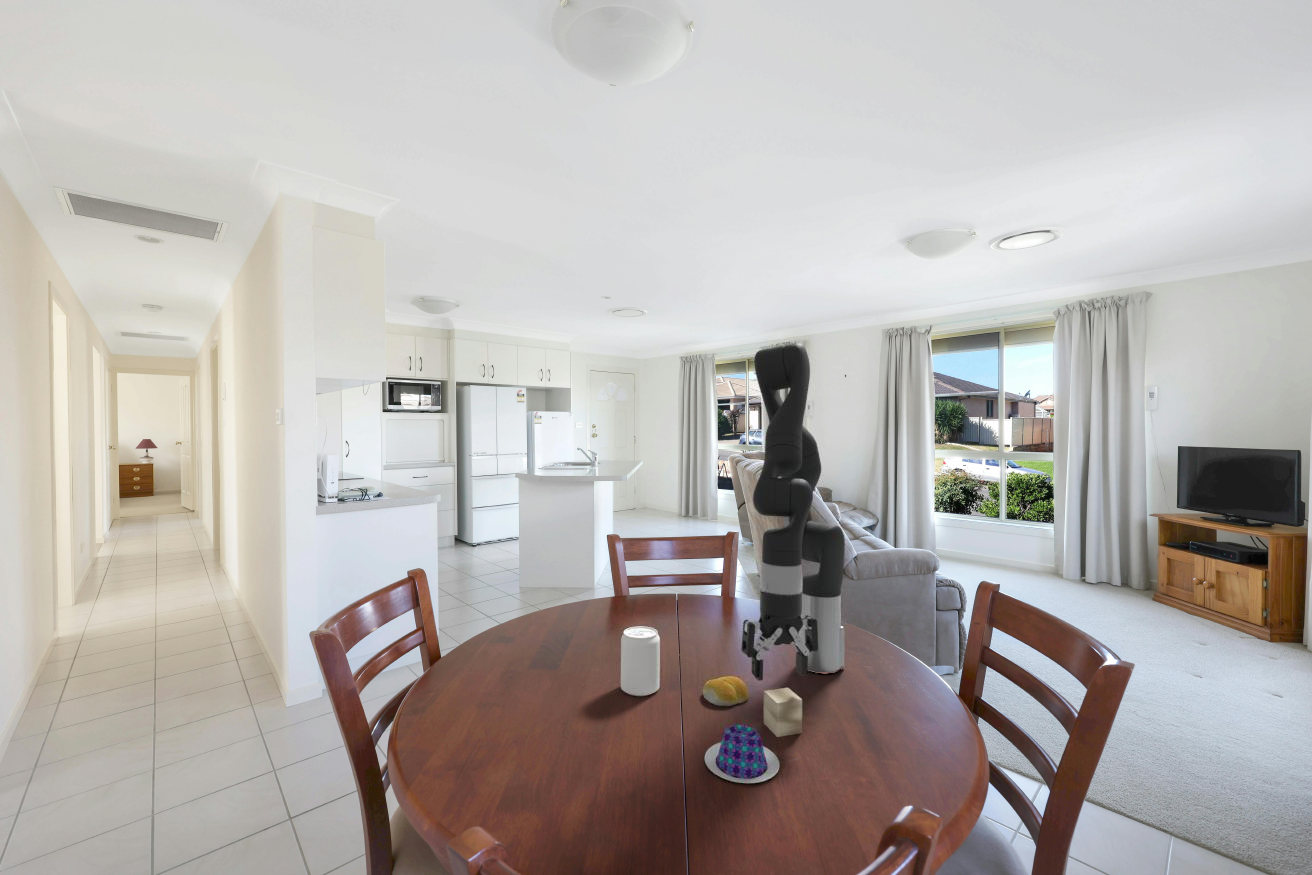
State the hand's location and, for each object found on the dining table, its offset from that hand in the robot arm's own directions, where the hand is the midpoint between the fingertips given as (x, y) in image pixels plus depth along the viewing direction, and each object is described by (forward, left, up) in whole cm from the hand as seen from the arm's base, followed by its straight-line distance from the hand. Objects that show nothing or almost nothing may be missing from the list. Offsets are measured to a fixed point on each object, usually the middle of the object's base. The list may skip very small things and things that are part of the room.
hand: (779, 676), depth 101 cm
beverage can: (+20, -22, -10) cm, 31 cm away
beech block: (-1, 0, -9) cm, 9 cm away
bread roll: (+5, -14, -10) cm, 17 cm away
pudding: (+11, +8, -10) cm, 17 cm away
